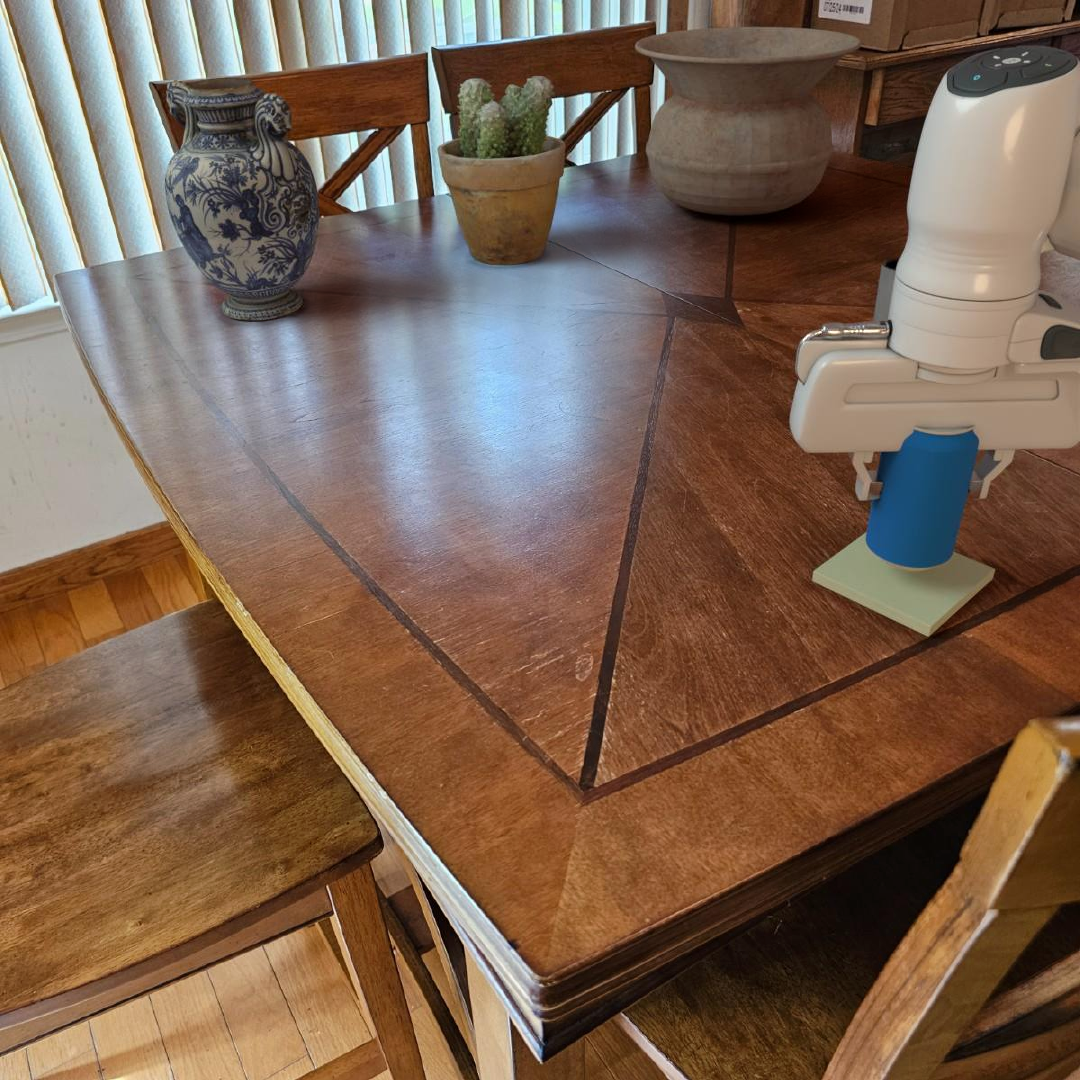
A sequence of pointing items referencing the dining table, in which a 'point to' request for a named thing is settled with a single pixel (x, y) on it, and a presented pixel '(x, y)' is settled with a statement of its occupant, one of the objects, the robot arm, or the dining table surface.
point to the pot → (742, 116)
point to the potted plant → (504, 170)
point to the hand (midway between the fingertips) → (919, 496)
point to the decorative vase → (242, 195)
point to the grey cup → (885, 289)
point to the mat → (903, 585)
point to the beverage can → (922, 498)
